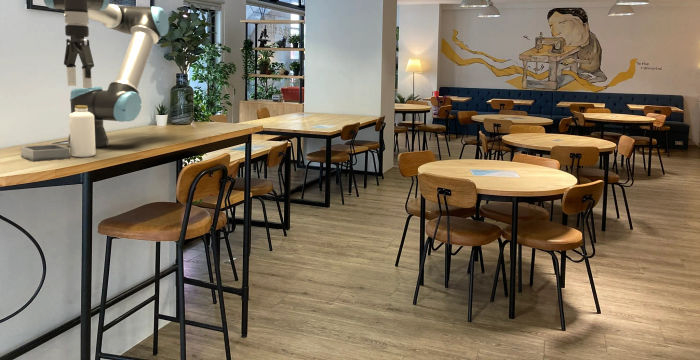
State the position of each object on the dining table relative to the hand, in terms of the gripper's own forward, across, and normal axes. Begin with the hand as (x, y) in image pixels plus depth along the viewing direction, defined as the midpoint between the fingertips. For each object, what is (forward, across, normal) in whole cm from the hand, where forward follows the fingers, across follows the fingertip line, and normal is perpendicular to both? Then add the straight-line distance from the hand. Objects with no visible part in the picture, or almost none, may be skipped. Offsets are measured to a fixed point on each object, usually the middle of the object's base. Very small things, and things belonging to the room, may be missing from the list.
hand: (79, 86), depth 224 cm
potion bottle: (+25, 0, 0) cm, 25 cm away
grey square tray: (+25, -3, -12) cm, 28 cm away
